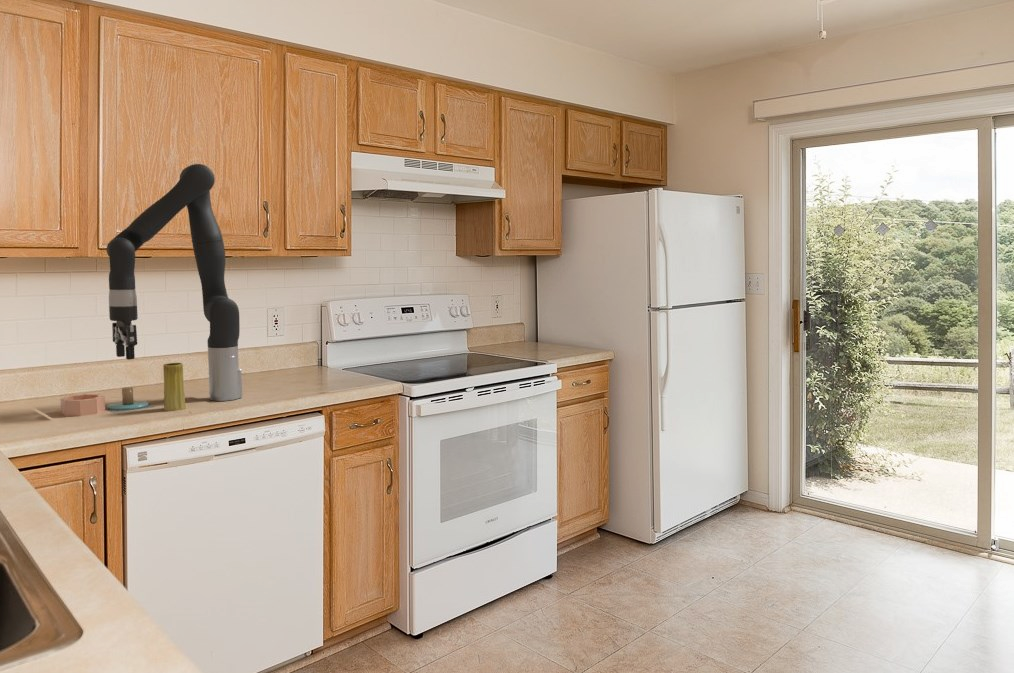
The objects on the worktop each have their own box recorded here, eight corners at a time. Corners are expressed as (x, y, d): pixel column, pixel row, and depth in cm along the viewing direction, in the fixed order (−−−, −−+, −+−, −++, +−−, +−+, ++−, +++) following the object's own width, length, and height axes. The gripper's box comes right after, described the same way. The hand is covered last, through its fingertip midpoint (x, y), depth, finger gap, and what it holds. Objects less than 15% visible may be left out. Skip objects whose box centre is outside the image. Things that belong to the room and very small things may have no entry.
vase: (189, 408, 224) (187, 362, 222) (181, 412, 218) (179, 365, 216) (169, 408, 224) (166, 362, 222) (160, 412, 218) (158, 365, 216)
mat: (142, 403, 232) (142, 401, 232) (156, 408, 224) (156, 406, 223) (100, 408, 224) (100, 406, 223) (113, 414, 215) (113, 412, 215)
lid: (140, 401, 231) (140, 383, 231) (153, 406, 223) (152, 388, 223) (102, 406, 223) (101, 387, 223) (114, 411, 216) (113, 392, 215)
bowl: (97, 408, 223) (96, 392, 223) (108, 414, 216) (107, 397, 215) (58, 413, 216) (57, 397, 215) (68, 419, 208) (67, 402, 208)
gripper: (144, 305, 218) (147, 359, 219) (128, 303, 228) (130, 354, 229) (117, 306, 213) (120, 361, 214) (101, 304, 223) (104, 356, 224)
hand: (125, 357), depth 222 cm, fingers open, 8 cm apart
